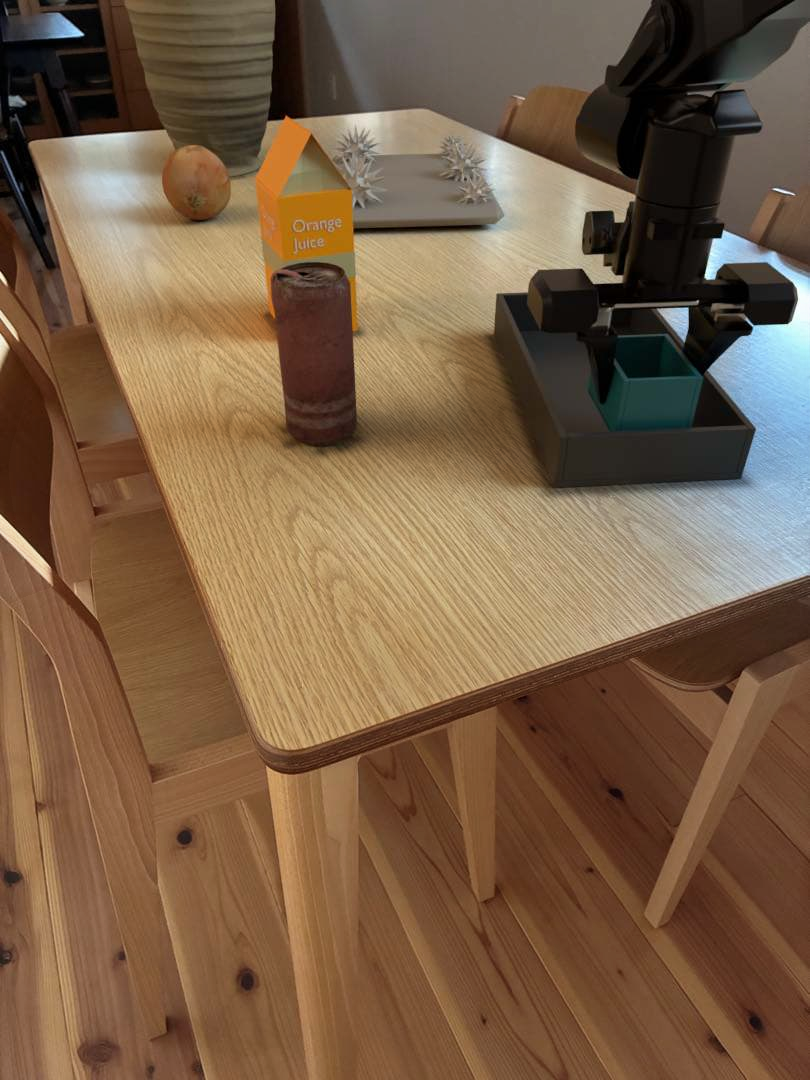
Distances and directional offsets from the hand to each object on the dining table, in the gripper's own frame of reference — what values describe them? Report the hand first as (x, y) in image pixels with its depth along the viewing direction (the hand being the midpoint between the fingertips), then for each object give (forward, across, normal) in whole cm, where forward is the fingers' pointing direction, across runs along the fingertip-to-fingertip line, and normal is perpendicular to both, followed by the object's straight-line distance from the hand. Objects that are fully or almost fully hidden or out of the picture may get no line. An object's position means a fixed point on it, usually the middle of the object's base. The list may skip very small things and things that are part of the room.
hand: (639, 399), depth 65 cm
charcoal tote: (+5, 0, -10) cm, 11 cm away
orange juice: (+5, +27, -30) cm, 40 cm away
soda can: (+5, +26, -6) cm, 27 cm away
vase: (+5, +44, -100) cm, 110 cm away
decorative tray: (+5, +13, -77) cm, 78 cm away
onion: (+5, +44, -70) cm, 82 cm away
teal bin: (+1, 0, 0) cm, 1 cm away
